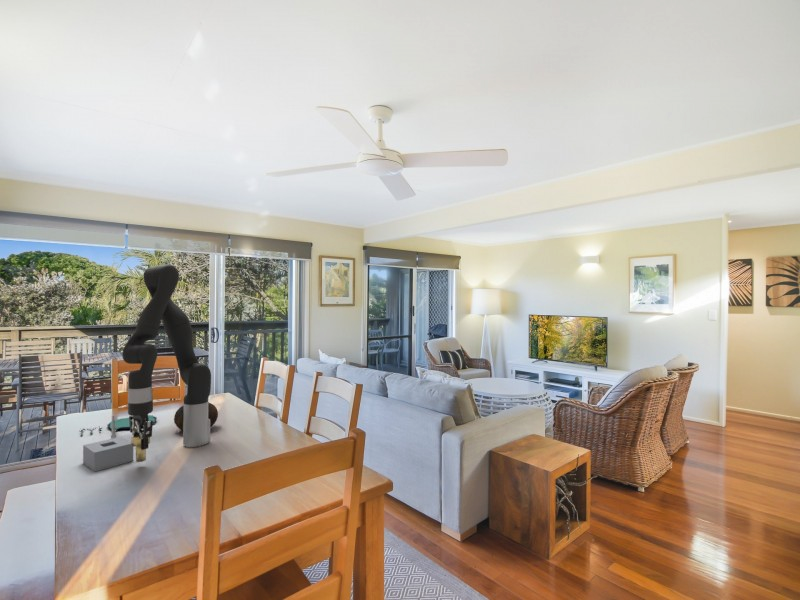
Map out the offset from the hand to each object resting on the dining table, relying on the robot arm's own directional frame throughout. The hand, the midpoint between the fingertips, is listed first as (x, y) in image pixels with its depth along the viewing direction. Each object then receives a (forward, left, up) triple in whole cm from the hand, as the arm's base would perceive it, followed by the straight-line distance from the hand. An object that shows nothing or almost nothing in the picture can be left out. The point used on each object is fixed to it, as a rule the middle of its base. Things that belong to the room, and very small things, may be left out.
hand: (140, 446), depth 145 cm
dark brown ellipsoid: (-33, -26, -7) cm, 43 cm away
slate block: (+5, -15, -7) cm, 17 cm away
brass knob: (0, 0, -5) cm, 5 cm away
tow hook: (0, -34, -7) cm, 34 cm away
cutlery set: (-13, -60, -8) cm, 62 cm away
